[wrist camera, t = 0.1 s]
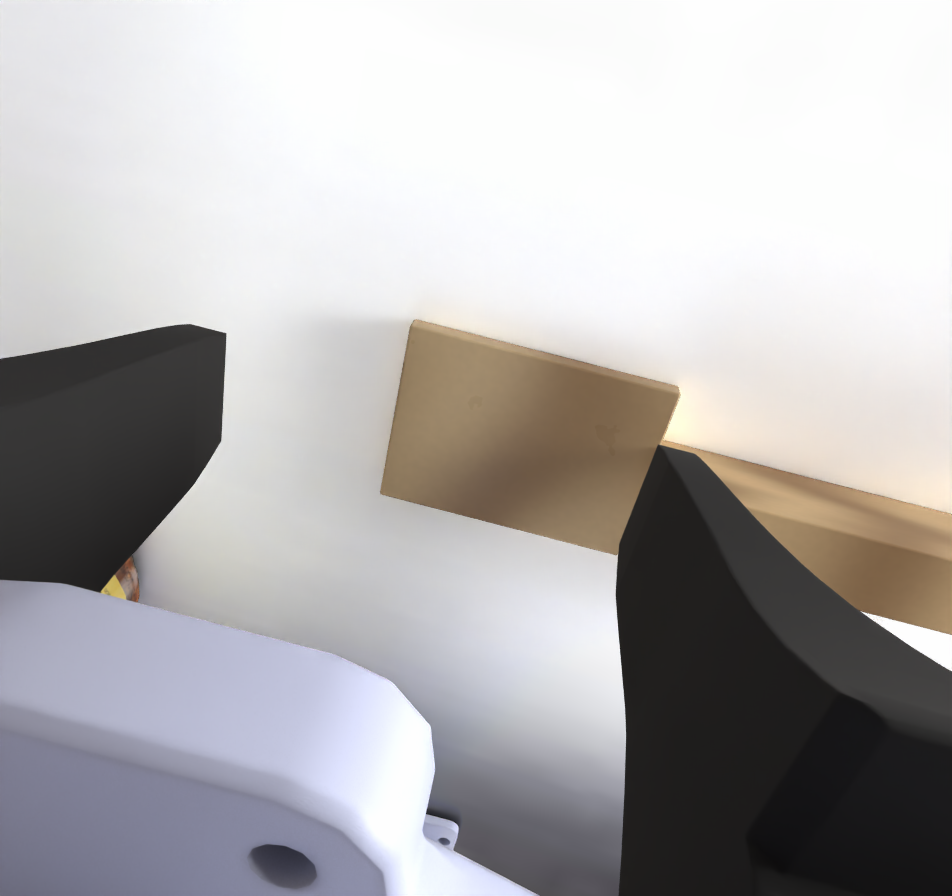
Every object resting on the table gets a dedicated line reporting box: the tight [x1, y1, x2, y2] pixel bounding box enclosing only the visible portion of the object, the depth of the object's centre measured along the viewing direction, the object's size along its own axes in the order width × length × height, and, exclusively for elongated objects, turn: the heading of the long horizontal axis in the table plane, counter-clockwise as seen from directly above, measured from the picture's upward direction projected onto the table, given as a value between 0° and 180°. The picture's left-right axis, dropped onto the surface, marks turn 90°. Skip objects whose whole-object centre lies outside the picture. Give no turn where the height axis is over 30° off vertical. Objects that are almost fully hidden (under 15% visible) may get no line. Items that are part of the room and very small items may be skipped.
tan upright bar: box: [380, 320, 952, 635], centre depth 22 cm, size 20×6×3 cm, turn 78°
